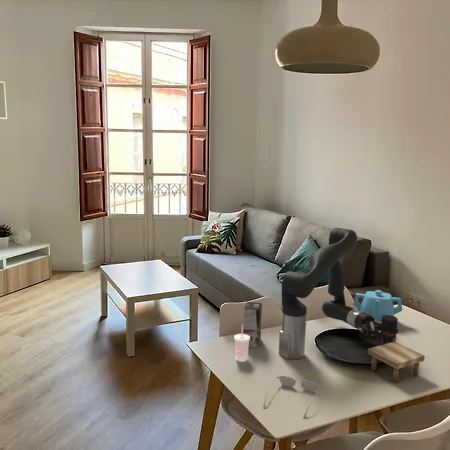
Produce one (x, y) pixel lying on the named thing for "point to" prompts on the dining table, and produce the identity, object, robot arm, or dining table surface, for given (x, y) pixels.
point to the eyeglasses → (291, 382)
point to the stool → (395, 357)
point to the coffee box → (253, 322)
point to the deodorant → (388, 329)
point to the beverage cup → (241, 346)
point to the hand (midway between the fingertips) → (389, 334)
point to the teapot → (377, 304)
